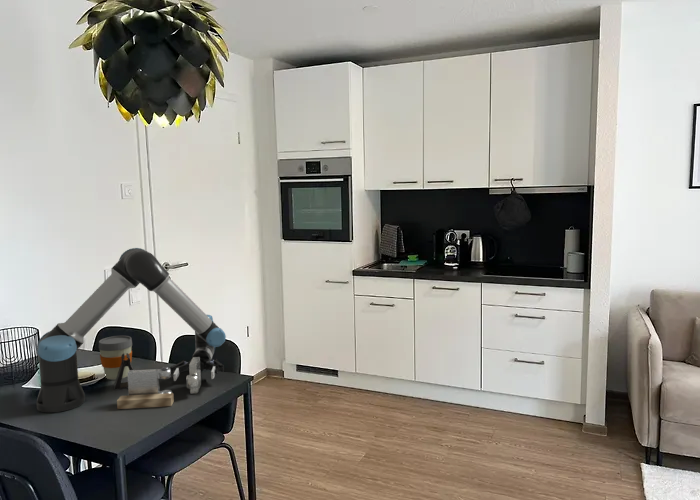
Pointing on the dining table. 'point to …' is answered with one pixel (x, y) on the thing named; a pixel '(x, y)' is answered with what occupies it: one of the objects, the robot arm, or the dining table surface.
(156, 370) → the fixed steel leaf
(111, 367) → the reusable coffee cup
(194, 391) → the loose hinge leaf
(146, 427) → the dining table surface
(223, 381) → the dining table surface
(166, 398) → the oak sill
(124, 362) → the dark forked stand
